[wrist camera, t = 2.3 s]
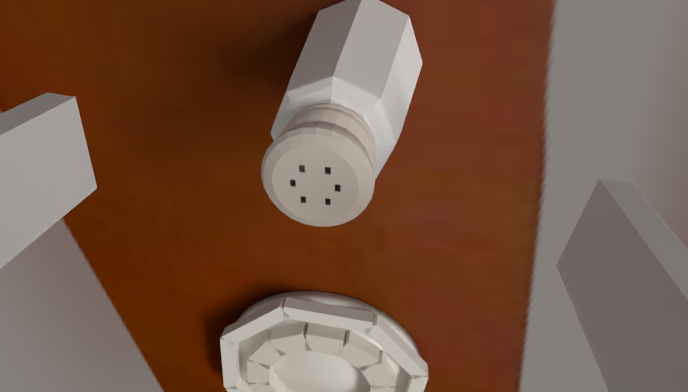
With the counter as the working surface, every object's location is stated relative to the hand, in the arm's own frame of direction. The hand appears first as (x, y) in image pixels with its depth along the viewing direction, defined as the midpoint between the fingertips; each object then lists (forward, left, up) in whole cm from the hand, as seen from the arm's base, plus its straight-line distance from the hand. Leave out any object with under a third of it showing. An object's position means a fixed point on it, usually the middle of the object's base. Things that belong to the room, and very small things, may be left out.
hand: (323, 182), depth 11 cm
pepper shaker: (0, 0, -10) cm, 10 cm away
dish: (+22, 0, -10) cm, 24 cm away
